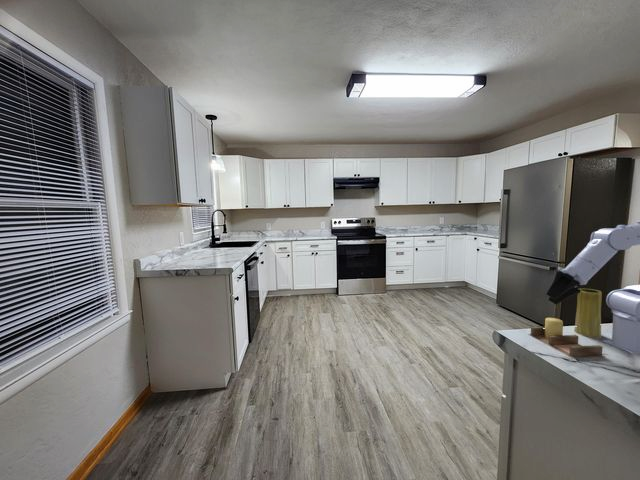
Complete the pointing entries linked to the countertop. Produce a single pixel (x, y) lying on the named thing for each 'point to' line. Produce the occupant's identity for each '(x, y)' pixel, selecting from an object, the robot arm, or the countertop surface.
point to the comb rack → (567, 344)
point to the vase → (588, 313)
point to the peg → (553, 327)
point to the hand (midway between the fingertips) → (551, 299)
